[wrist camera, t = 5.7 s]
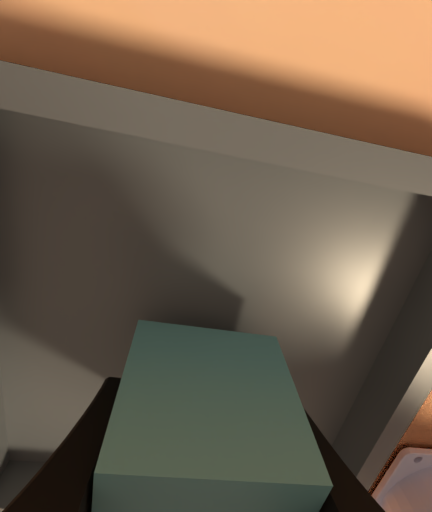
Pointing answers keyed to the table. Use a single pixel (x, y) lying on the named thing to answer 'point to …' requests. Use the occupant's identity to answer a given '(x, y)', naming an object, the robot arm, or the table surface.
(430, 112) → the table surface
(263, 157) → the charcoal tray
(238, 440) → the teal block
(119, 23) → the table surface
